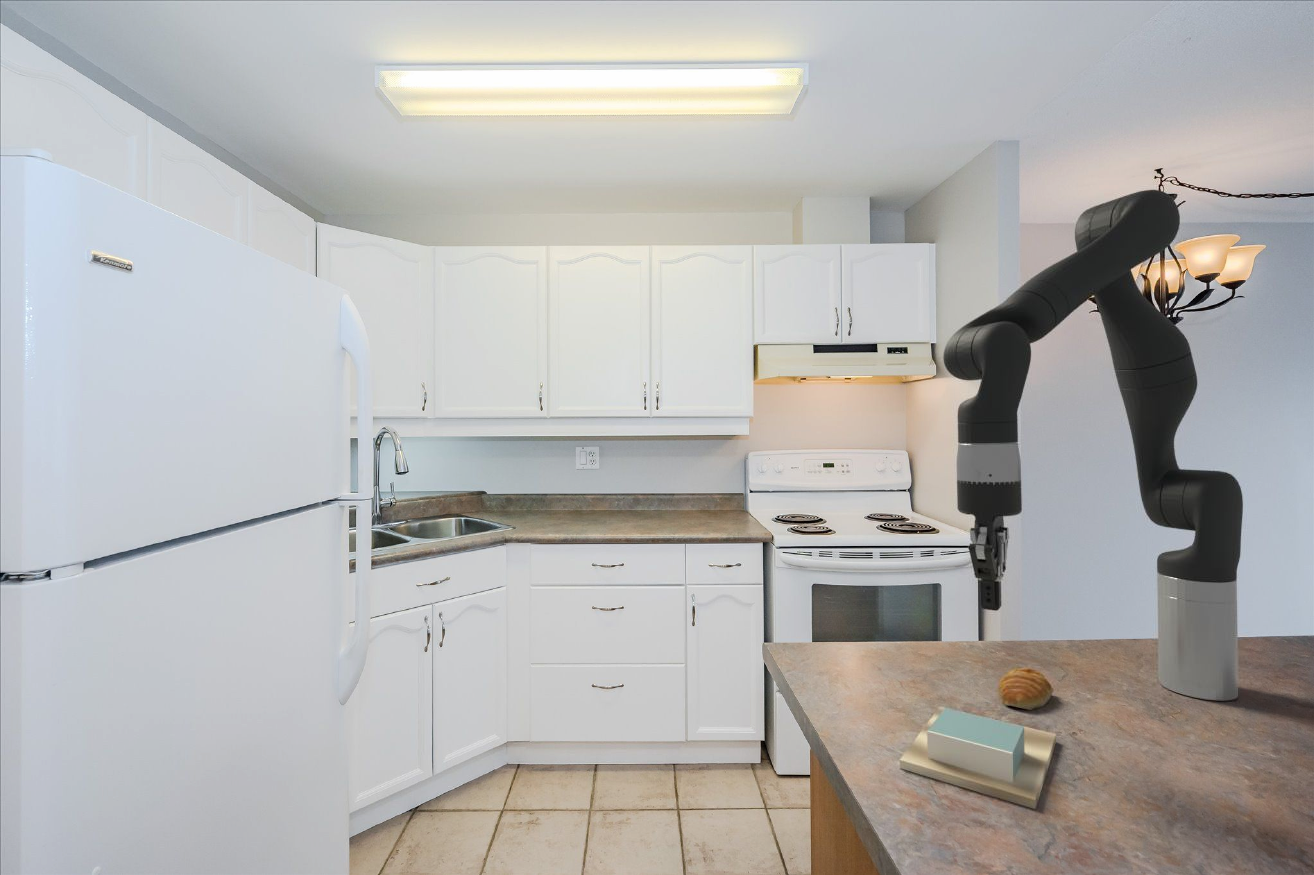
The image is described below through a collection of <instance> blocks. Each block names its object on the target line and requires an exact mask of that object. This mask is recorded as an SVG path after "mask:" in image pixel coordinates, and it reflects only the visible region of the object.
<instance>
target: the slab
mask: <svg viewBox="0 0 1314 875" xmlns="http://www.w3.org/2000/svg"><path fill="white" fill-rule="evenodd" d="M1015 724H1016V723H1011V722H1007V721H1002V720H999V721H998V720H997V719H994V718H990V717H985V716H982V717H981V716H980V715H978V716H977V714H973V713H968V712H964V711H961V712H960V710H956V709H951V708H947V707H944V709H943V711H942V712H941V714H940V715H939V716H938V718H937V719H936V720H935V722H934V723H933V724H932V726H931V727H930V728H929V730H928V731H927V751H928V758H929V759H933V760H936V761H940V762H943V763H947V764H950V765H954V766H957V767H961V768H964V769H967V770H971V771H974V772H978V773H981V774H985V775H988V776H992V777H995V778H999V779H1002V780H1006V781H1009V782H1013V781H1014V778H1015V776H1016V773H1017V771H1018V768H1019V766H1020V763H1021V761H1022V758H1023V756H1024V753H1025V748H1024V727H1025V726H1024V725H1020V726H1019V724H1016V725H1015Z"/></svg>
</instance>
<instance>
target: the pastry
mask: <svg viewBox="0 0 1314 875" xmlns="http://www.w3.org/2000/svg"><path fill="white" fill-rule="evenodd" d="M997 686H998V691H999V696H1000V699H1001V703H1003V704H1004V706H1011V707H1015V708H1020V709H1023V710H1024V709H1025V710H1029V711H1032V710H1033V709H1037V708H1041V707H1044V706H1045V705H1046V703H1048V702H1049V700H1050V698H1051V696H1052V695H1053V693H1054V688H1053V687H1052V685H1051V684H1050V682H1049V681H1048V679H1047V678H1046V677H1045V676H1044V674H1043V673H1041V671H1039V670H1036V669H1034V668H1030V667H1021V668H1018V667H1016V668H1013V670H1009V672H1008V673H1006V674H1005V675H1003V677H1002V678H1001V679H1000V680H999V683H998V685H997Z"/></svg>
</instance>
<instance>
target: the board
mask: <svg viewBox="0 0 1314 875" xmlns="http://www.w3.org/2000/svg"><path fill="white" fill-rule="evenodd" d="M944 708H945V707H944V706H943V707H942V706H939V707H938V708H937V709H936V711H935V712H934V714H933V715H932V716H931V718H930V719H929V720H928V721H927V723H926V724H925V726H924V727H923V728H922V730H921V731H920V732H919V733H918V735H917V736H916V738H915V739H914V740H913V742H912V743H911V744H910V746H909V747H908V748H907V750H906V751H905V752H904V753H903V755H902V756H901V758H900V759H899V769H902V770H904V771H908V772H912V773H915V774H918V775H921V776H924V777H928V778H931V779H934V780H937V781H940V782H943V783H948V784H949V785H950V784H951V785H953V786H954V785H955V786H958V787H960V788H964V789H968V790H971V791H974V792H977V793H981V794H984V795H986V796H990V797H994V798H996V799H1000V800H1003V801H1007V802H1011V803H1014V804H1016V805H1020V806H1023V807H1027V808H1030V809H1033V810H1036V809H1037V806H1038V802H1039V799H1040V796H1041V793H1042V790H1043V789H1042V788H1043V786H1044V782H1045V780H1046V776H1047V772H1048V770H1049V766H1050V764H1051V763H1050V762H1051V760H1052V758H1053V753H1054V750H1055V747H1056V744H1057V733H1053V732H1049V731H1045V730H1040V729H1036V728H1032V727H1028V726H1024V748H1025V753H1024V756H1023V758H1022V761H1021V763H1020V766H1019V768H1018V771H1017V773H1016V776H1015V778H1014V781H1013V782H1009V781H1006V780H1002V779H999V778H995V777H992V776H988V775H985V774H981V773H978V772H974V771H971V770H967V769H964V768H961V767H957V766H954V765H950V764H947V763H943V762H940V761H936V760H933V759H929V758H928V751H927V731H928V730H929V728H930V727H931V726H932V724H933V723H934V722H935V720H936V719H937V718H938V716H939V715H940V714H941V712H942V711H943V709H944ZM959 711H960V710H959ZM960 712H962V711H960ZM976 715H977V714H976ZM977 716H979V715H977ZM981 717H983V716H981ZM998 721H1000V720H998ZM1014 724H1015V725H1017V724H1016V723H1014ZM1018 725H1019V724H1018ZM1019 726H1021V725H1019Z"/></svg>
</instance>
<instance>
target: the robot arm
mask: <svg viewBox="0 0 1314 875" xmlns="http://www.w3.org/2000/svg"><path fill="white" fill-rule="evenodd" d="M1180 216H1181V215H1180V211H1179V208H1178V206H1177V203H1176V202H1175V200H1174V199H1173V197H1172V196H1171V195H1170V194H1168V193H1167V192H1165V191H1162V190H1159V189H1146V190H1140V191H1136V192H1133V193H1131V194H1127V195H1123V196H1121V197H1117V198H1115V199H1112V200H1109V201H1106V202H1104V203H1103V202H1102V203H1100V204H1097V205H1095V206H1091V207H1090V208H1088V209H1086V210H1084V211H1083V212H1082V213H1081V214H1080V215H1079V217H1078V219H1077V221H1076V224H1075V228H1074V241H1075V242H1074V243H1075V247H1076V252H1074V253H1072V254H1070V255H1069V256H1067V257H1065V258H1063V259H1061V260H1058V261H1057V262H1055V263H1053V264H1051V265H1050V266H1048V267H1047V268H1045V269H1044V270H1041V271H1040V272H1038V273H1037V274H1036V275H1034V276H1033V277H1031V278H1030V279H1029V280H1027V281H1025V283H1024V284H1023V285H1021V286H1020V287H1019V288H1017V290H1015V291H1014V292H1013V293H1012V294H1011V295H1009V296H1008V297H1007V298H1006V299H1004V301H1003V302H1002V303H1000V304H999V305H997V306H995V307H994V308H992V309H990V310H988V311H986V312H984V313H982V314H981V315H979V316H978V317H976V318H974V319H972V320H971V321H969V322H967V323H966V324H965V325H963V326H962V327H960V328H959V329H958V330H956V331H955V332H954V333H953V334H952V336H951V337H950V338H949V340H948V341H947V343H946V345H945V347H944V350H943V356H942V358H943V364H944V367H945V368H946V370H947V372H948V373H949V374H950V375H951V376H952V377H954V378H956V379H959V380H962V381H979V380H980V384H979V387H978V390H977V393H976V394H975V395H974V396H973V397H971V398H968V399H966V400H963V401H962V402H961V403H960V404H959V406H958V409H957V454H956V494H957V495H956V498H957V500H956V501H957V502H956V503H957V504H956V505H957V506H956V508H957V510H958V512H960V513H961V514H964V515H971V516H974V519H975V520H974V527H970V530H969V536H970V537H969V538H970V541H971V543H969V545H968V551H969V556H970V560H971V564H972V568H973V573H974V574H973V575H974V577H975V578H976V579H978V581H979V582H980V584H979V585H980V586H979V587H980V608H982V609H983V610H987V611H995V612H997V611H999V610H1000V608H1001V607H1002V580H1003V578H1004V576H1005V575H1004V574H1005V572H1006V569H1007V567H1006V564H1007V560H1008V546H1009V544H1008V543H1009V539H1010V532H1009V531H1010V530H1009V527H1008V526H1007V527H1006V526H1005V520H1004V517H1012V516H1018V515H1020V514H1021V513H1022V510H1023V508H1022V507H1023V504H1022V503H1023V502H1022V500H1023V498H1022V497H1023V496H1022V463H1021V462H1022V461H1021V455H1020V449H1019V443H1018V442H1019V428H1018V426H1019V423H1018V421H1019V420H1018V419H1019V418H1018V409H1019V407H1020V403H1021V399H1022V397H1023V393H1024V388H1025V385H1026V381H1027V377H1028V374H1029V370H1030V368H1031V361H1032V360H1031V359H1032V349H1031V344H1033V343H1036V342H1038V341H1040V340H1041V339H1044V337H1046V336H1047V335H1048V334H1050V333H1051V332H1052V331H1053V330H1054V329H1056V328H1057V327H1058V326H1059V325H1060V324H1061V323H1062V322H1063V321H1065V319H1066V318H1067V317H1069V316H1070V315H1071V314H1072V313H1073V312H1075V310H1077V309H1078V308H1079V307H1080V306H1081V305H1083V304H1084V303H1086V302H1087V301H1088V300H1090V298H1092V297H1093V298H1094V300H1095V302H1096V305H1097V309H1098V312H1099V314H1100V318H1101V321H1102V324H1103V329H1104V332H1105V335H1106V339H1107V342H1108V346H1109V351H1110V355H1111V358H1112V365H1113V370H1114V373H1115V378H1116V380H1117V381H1116V382H1117V385H1118V388H1119V391H1120V395H1121V397H1122V402H1123V405H1124V409H1125V413H1126V416H1127V421H1128V425H1129V429H1130V434H1131V438H1132V444H1133V450H1134V455H1135V462H1136V464H1135V465H1136V472H1137V479H1138V487H1139V492H1140V493H1139V494H1140V497H1141V502H1142V506H1143V509H1144V512H1145V514H1146V516H1147V517H1148V519H1149V520H1150V521H1151V522H1152V523H1154V524H1156V525H1157V526H1160V527H1163V528H1169V529H1177V530H1184V531H1191V532H1194V540H1193V543H1192V544H1191V545H1190V546H1188V547H1185V548H1182V549H1176V550H1169V551H1164V552H1162V553H1161V552H1160V554H1159V555H1158V556H1157V560H1156V585H1157V586H1156V587H1157V589H1156V590H1157V591H1156V592H1157V654H1158V656H1157V658H1158V659H1157V660H1158V661H1157V662H1158V664H1157V665H1158V666H1157V669H1158V683H1159V684H1160V685H1161V686H1162V687H1164V688H1165V689H1167V690H1170V691H1171V692H1175V693H1178V694H1181V695H1182V696H1183V695H1184V696H1188V697H1192V698H1196V699H1197V698H1198V699H1201V700H1209V701H1222V702H1223V701H1231V700H1232V701H1233V700H1236V699H1237V698H1238V696H1239V657H1238V656H1239V646H1238V644H1239V642H1238V636H1239V635H1238V592H1237V591H1238V585H1237V584H1238V583H1237V581H1238V580H1237V579H1238V576H1237V574H1238V566H1239V562H1240V560H1241V552H1242V551H1241V548H1242V545H1241V544H1242V528H1243V512H1244V508H1243V507H1244V501H1243V500H1244V498H1243V492H1242V489H1241V488H1242V486H1240V484H1239V481H1238V480H1237V478H1236V477H1235V476H1234V475H1233V474H1232V473H1229V472H1227V471H1220V470H1208V469H1207V470H1204V469H1203V470H1202V469H1186V468H1185V469H1181V468H1180V467H1179V465H1178V462H1177V459H1176V450H1175V438H1176V434H1177V431H1178V428H1179V426H1180V424H1181V423H1182V421H1183V418H1184V417H1185V415H1186V413H1187V412H1188V410H1189V407H1190V406H1191V404H1192V402H1193V400H1194V398H1195V395H1196V392H1197V390H1198V375H1197V371H1196V366H1195V362H1194V359H1193V354H1192V349H1191V347H1190V346H1191V345H1190V343H1189V341H1188V339H1187V338H1186V336H1185V334H1184V333H1183V332H1182V330H1180V329H1179V328H1178V327H1177V325H1176V324H1174V323H1173V321H1172V320H1171V319H1169V317H1167V316H1166V315H1165V314H1164V313H1163V312H1161V311H1160V310H1159V309H1157V308H1156V307H1155V306H1154V305H1153V304H1152V303H1151V301H1149V300H1148V299H1147V297H1145V296H1144V294H1143V293H1142V291H1141V290H1140V289H1139V287H1138V285H1137V282H1136V280H1135V276H1134V274H1133V272H1132V270H1133V269H1134V268H1136V267H1137V266H1139V265H1141V264H1142V263H1144V262H1146V261H1147V260H1149V259H1151V258H1154V256H1157V255H1158V254H1160V253H1162V252H1163V251H1164V250H1166V249H1167V248H1168V247H1169V246H1170V245H1171V244H1172V243H1173V242H1174V240H1175V239H1176V237H1177V234H1178V232H1179V230H1180V223H1181V221H1180V219H1181V218H1180Z"/></svg>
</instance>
